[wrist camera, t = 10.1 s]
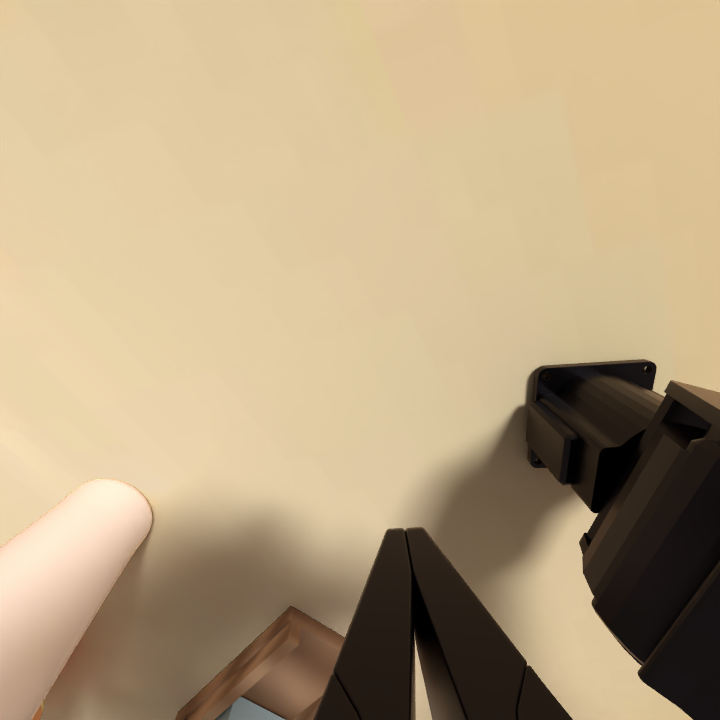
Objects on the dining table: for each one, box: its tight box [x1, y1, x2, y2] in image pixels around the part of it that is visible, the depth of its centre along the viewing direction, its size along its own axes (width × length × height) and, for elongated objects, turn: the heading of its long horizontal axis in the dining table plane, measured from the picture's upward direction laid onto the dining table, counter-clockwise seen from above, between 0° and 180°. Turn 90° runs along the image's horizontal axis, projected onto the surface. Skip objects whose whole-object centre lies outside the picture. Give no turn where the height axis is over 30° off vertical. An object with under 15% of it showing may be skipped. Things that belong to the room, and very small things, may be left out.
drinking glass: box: [0, 479, 152, 720], centre depth 17 cm, size 7×7×15 cm
